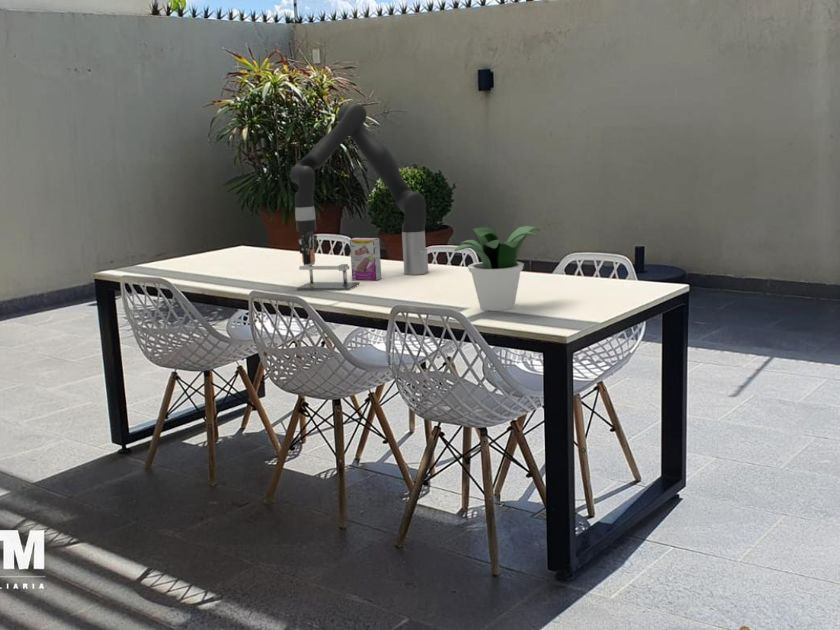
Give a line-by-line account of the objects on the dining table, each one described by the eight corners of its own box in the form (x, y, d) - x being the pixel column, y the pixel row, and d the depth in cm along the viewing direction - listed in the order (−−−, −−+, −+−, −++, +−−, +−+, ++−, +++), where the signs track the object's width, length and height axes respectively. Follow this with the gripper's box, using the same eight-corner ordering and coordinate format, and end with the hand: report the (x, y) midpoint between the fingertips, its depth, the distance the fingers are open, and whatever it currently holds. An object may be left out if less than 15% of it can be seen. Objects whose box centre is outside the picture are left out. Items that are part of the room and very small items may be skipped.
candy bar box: (351, 280, 392) (348, 239, 388) (357, 278, 396) (354, 237, 393) (376, 280, 387) (373, 239, 384) (382, 278, 391) (379, 237, 388)
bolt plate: (359, 284, 380) (358, 261, 378) (348, 290, 369) (346, 266, 367) (309, 284, 386) (308, 262, 384) (297, 290, 375) (295, 267, 373)
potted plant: (573, 303, 322) (572, 226, 317) (491, 321, 303) (488, 239, 298) (510, 292, 348) (508, 220, 343) (431, 307, 328) (427, 232, 323)
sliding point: (317, 283, 379) (314, 248, 376) (313, 284, 376) (310, 250, 373) (307, 283, 380) (305, 248, 378) (303, 284, 377) (301, 250, 374)
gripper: (307, 220, 365) (310, 266, 369) (321, 216, 378) (325, 260, 382) (288, 221, 367) (292, 266, 371) (304, 216, 381) (307, 260, 384)
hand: (309, 263), depth 376 cm, fingers closed on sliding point, 3 cm apart
